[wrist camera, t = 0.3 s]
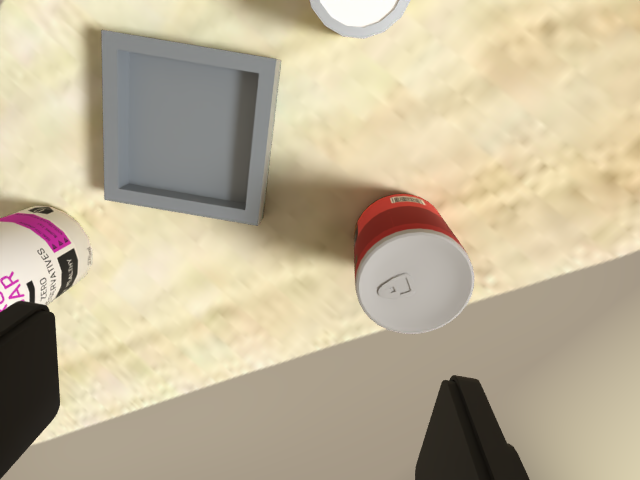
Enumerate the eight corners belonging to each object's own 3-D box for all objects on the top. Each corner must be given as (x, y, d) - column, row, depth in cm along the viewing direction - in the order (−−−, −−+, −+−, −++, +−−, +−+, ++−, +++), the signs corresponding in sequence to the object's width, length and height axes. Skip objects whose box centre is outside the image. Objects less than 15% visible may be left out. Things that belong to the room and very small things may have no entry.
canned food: (337, 224, 39) (332, 274, 29) (411, 172, 37) (435, 207, 27) (384, 286, 41) (396, 354, 31) (458, 240, 39) (497, 296, 29)
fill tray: (117, 33, 35) (101, 29, 33) (281, 60, 35) (276, 59, 33) (118, 192, 40) (104, 199, 37) (263, 217, 40) (257, 225, 37)
